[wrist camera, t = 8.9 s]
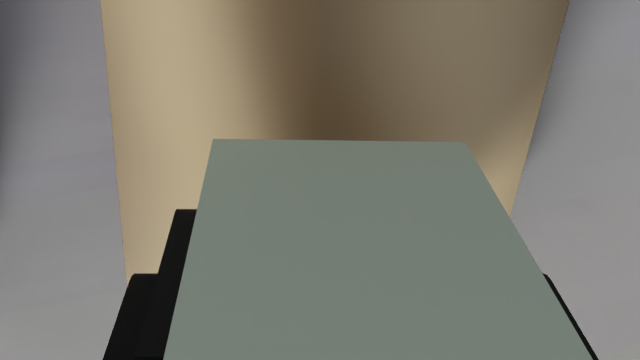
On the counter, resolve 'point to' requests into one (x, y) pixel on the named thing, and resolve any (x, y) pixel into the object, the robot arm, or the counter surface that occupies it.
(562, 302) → the robot arm
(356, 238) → the sage block
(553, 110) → the counter surface
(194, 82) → the oak slab
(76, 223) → the counter surface
